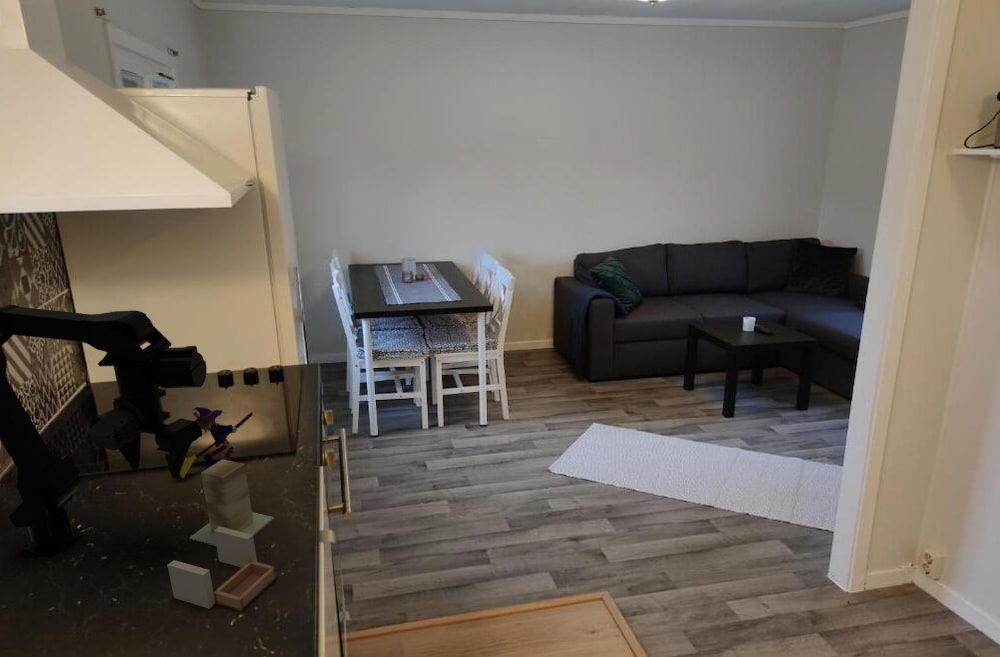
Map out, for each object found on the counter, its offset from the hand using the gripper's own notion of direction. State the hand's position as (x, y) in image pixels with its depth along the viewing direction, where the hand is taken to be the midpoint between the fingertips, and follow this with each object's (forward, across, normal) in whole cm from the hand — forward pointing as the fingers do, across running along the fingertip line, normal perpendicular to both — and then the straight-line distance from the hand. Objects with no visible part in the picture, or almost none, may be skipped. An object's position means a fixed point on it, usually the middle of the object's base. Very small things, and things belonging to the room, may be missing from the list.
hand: (155, 472), depth 107 cm
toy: (+13, -10, +22) cm, 28 cm away
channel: (+13, +17, -6) cm, 22 cm away
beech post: (+13, +9, +6) cm, 17 cm away
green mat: (+13, +9, +6) cm, 17 cm away
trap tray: (+13, +23, -6) cm, 27 cm away
